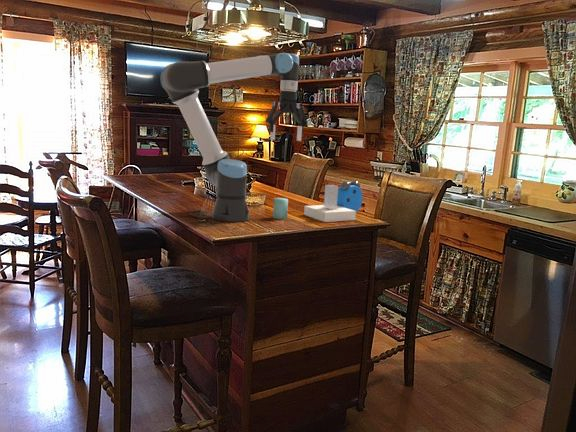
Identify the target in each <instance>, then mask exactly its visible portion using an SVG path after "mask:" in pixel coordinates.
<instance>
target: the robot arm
mask: <svg viewBox="0 0 576 432" xmlns="http://www.w3.org/2000/svg"><path fill="white" fill-rule="evenodd" d="M299 68H300V57H299V55H298V54H296V53H288V52H279V53H274V54H268V55H267V54H266V55H257V56H251V57H241V58H235V59H228V60H222V61H221V60H220V61H213V62H206V61H205V60H198V61H176V62H173V63H170V64H168V65H166V66H165V67H164V68H163V70H162V71H161V74H160V77H159V78H160V85H161V87H162V88H163V89H164V91H165V92H166V93H167V95H168V97H169V98H170V101H171V102H172V103H173V104H174V105H176V106H177V107H178V109H179V110H180V112H181V115H182V117H183V119H184V121H185V122H186V125H187V128H188V130H189V131H190V133H191V135H192V138H193V140H194V142H195V144H196V146H197V148H198V151H199V152H200V154H201V157H202V163H201V165H202V167H203V168H204V171H205V172H204V174H205V177H206V179H207V181H208V183H209V184H211V185H212V186H214V187H216V200H215V203H214V205H213V208H212V212H211V218H212V219H213V220H215V221H219V222H230V223H232V222H233V223H235V222H236V223H237V222H245V221H248V220H250V212H249V211H250V210H249V208H248V204H247V199H246V198H247V197H246V195H247V180H248V179H247V178H248V177H247V176H248V175H247V174H248V169H247V168H248V166H247V164H246V163H245V161H242V160H237V159H231V158H230V156H229V154H228V152H227V151H226V150H223V149H222V147H221V145H220V142H219V140H218V138H217V135H216V134H215V132H214V130H213V128H212V125H211V123H210V120H209V118H208V117H207V114H206V113H205V109H204V108H203V106H202V104H201V102H200V99H199V93H200V90H199V89H202V88H207V87H209V86H210V85H211V84H216V83H217V84H218V83H223V82H231V81H232V82H233V81H237V80H244V79H250V78H258V77H264V76H275V77H277V76H278V77H280V88H279V89H280V90H279V101H275V100H274V101H273V102H272V106H271V109H270V111H269V113H268V115H267V117H266V119H265V123H267V124H268V125H269V129H268V131H269V133H270V140H271V141H275V140H276V124H275V123H276V122H277V121H278V120H279V118H280V117H281V116H282V115H283V114H287V113H288V114H292V116H293V118H294V119H295V120H296V122H297V124H298V125H297V128H296V129H297V131H296V134H297V135H296V142H297V141H298V142H302V135H303V134H304V127H305V126H307V125H308V120H307V118H306V117H307V116H306V115H305V112H304V106H303V103H302V102H300V103H299V102H298V103H297V99H298V92H297V91H298V84H299ZM278 107H279V109H278ZM276 111H277V112H276Z"/></svg>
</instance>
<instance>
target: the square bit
mask: <svg viewBox="0 0 576 432" xmlns="http://www.w3.org/2000/svg"><path fill="white" fill-rule="evenodd" d="M338 189H339V186H338V185H335V184H325V187H324V198H323V199H324V200H323V205H324V209H327V210H335V209H337V196H338Z"/></svg>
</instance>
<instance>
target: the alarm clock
mask: <svg viewBox="0 0 576 432" xmlns="http://www.w3.org/2000/svg"><path fill="white" fill-rule="evenodd" d="M363 199H364V197H363V192H362V189H361V183H360V182H359V181H358V180H351V181H347V180H345V181H341V182H340V185H339V187H338V196H337V205H338V206H341V207H344V208H348V209H351V210H354V211H356V213H357V212H358V211H359V210H360V208H361V207H362V204H363Z"/></svg>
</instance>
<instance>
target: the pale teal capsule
mask: <svg viewBox="0 0 576 432" xmlns="http://www.w3.org/2000/svg"><path fill="white" fill-rule="evenodd" d="M288 207H289V199H288V198H285V197H274V198H273V209H272V210H273V211H272V213H273V214H272V218H273V219H275V220H287V219H288V210H289V209H288Z"/></svg>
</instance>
